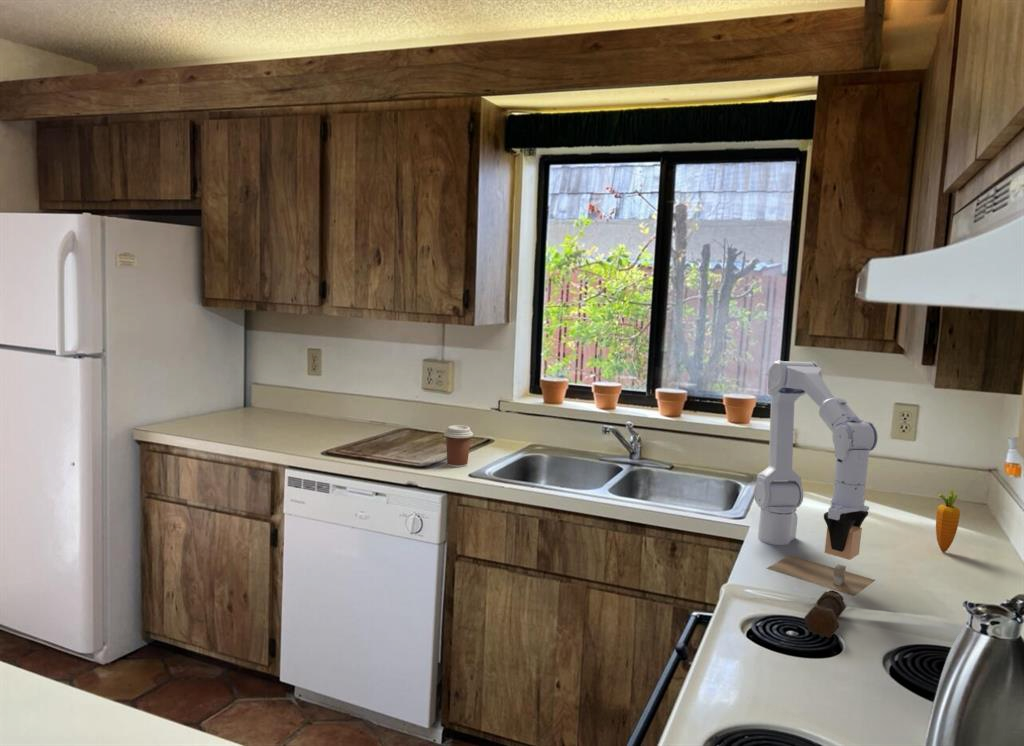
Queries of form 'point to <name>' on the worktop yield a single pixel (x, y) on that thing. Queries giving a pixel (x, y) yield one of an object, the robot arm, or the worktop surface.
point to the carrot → (947, 521)
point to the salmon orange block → (851, 544)
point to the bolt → (825, 614)
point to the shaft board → (822, 574)
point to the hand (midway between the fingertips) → (842, 546)
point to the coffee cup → (458, 445)
